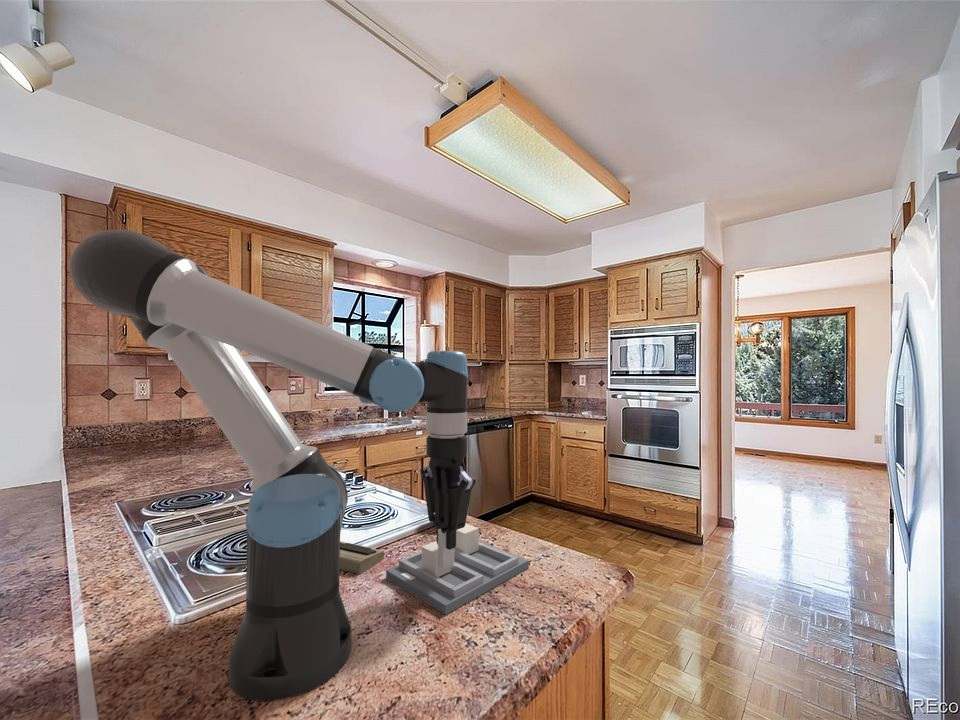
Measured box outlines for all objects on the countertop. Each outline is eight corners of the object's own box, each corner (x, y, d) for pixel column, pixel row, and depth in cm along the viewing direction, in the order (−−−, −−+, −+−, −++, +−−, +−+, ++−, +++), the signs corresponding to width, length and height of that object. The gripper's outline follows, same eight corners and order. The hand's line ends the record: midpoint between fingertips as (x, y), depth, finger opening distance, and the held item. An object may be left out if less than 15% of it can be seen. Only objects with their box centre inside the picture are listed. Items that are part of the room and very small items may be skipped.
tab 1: (435, 578, 74) (435, 553, 74) (421, 571, 77) (421, 546, 77) (451, 570, 77) (451, 546, 77) (437, 563, 80) (437, 540, 80)
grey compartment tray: (445, 614, 66) (445, 597, 66) (385, 578, 78) (386, 563, 78) (528, 568, 82) (528, 554, 82) (468, 543, 94) (468, 531, 94)
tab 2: (464, 556, 83) (464, 533, 83) (451, 550, 86) (451, 528, 86) (478, 550, 86) (478, 528, 86) (465, 544, 89) (465, 523, 89)
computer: (385, 560, 86) (385, 544, 86) (359, 578, 79) (359, 560, 79) (327, 547, 92) (327, 532, 93) (298, 562, 85) (298, 546, 85)
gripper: (486, 436, 74) (486, 569, 73) (439, 429, 83) (438, 547, 82) (455, 441, 69) (454, 585, 68) (409, 433, 78) (408, 559, 77)
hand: (446, 564), depth 75 cm, fingers closed
